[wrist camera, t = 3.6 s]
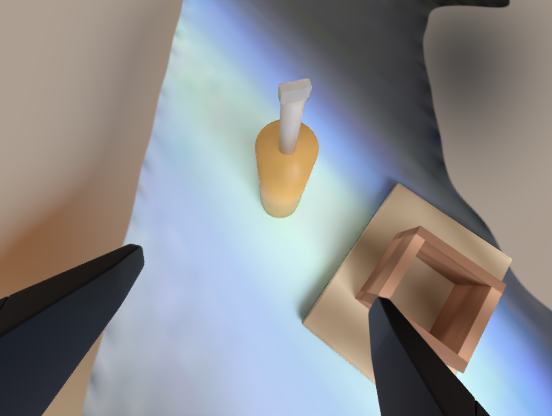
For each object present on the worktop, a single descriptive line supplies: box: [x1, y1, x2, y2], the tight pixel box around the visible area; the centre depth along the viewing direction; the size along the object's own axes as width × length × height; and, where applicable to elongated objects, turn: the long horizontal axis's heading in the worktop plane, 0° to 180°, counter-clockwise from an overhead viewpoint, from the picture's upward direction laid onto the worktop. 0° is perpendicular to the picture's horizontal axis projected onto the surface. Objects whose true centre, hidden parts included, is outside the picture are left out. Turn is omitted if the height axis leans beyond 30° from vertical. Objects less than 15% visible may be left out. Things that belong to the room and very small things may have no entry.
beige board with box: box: [302, 183, 512, 384], centre depth 20 cm, size 16×12×4 cm
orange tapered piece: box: [255, 78, 319, 218], centre depth 17 cm, size 4×4×15 cm
